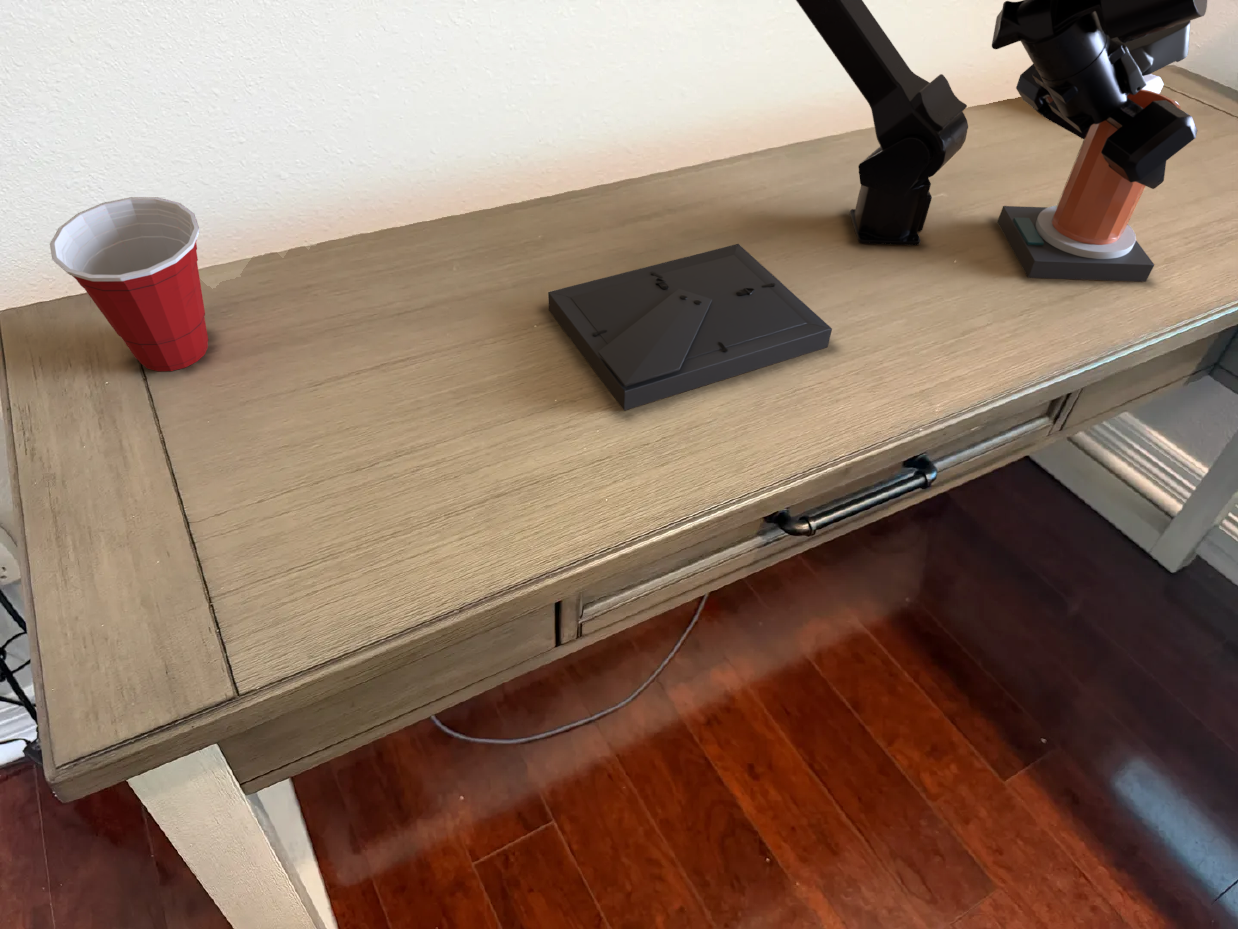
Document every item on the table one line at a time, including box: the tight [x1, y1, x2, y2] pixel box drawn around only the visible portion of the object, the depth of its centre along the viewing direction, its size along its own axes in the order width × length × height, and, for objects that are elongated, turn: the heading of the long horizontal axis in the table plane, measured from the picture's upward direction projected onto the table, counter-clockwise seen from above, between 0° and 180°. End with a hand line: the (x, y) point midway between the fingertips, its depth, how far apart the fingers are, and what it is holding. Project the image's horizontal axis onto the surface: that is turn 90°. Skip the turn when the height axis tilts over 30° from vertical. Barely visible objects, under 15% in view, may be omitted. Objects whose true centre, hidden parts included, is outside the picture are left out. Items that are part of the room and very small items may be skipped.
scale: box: [997, 204, 1155, 283], centre depth 93 cm, size 12×11×3 cm
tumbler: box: [1052, 89, 1182, 245], centre depth 87 cm, size 7×7×13 cm
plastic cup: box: [49, 196, 209, 372], centre depth 74 cm, size 11×11×12 cm
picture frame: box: [547, 243, 833, 412], centre depth 81 cm, size 16×3×21 cm
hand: (1127, 162), depth 87 cm, fingers open, 9 cm apart
